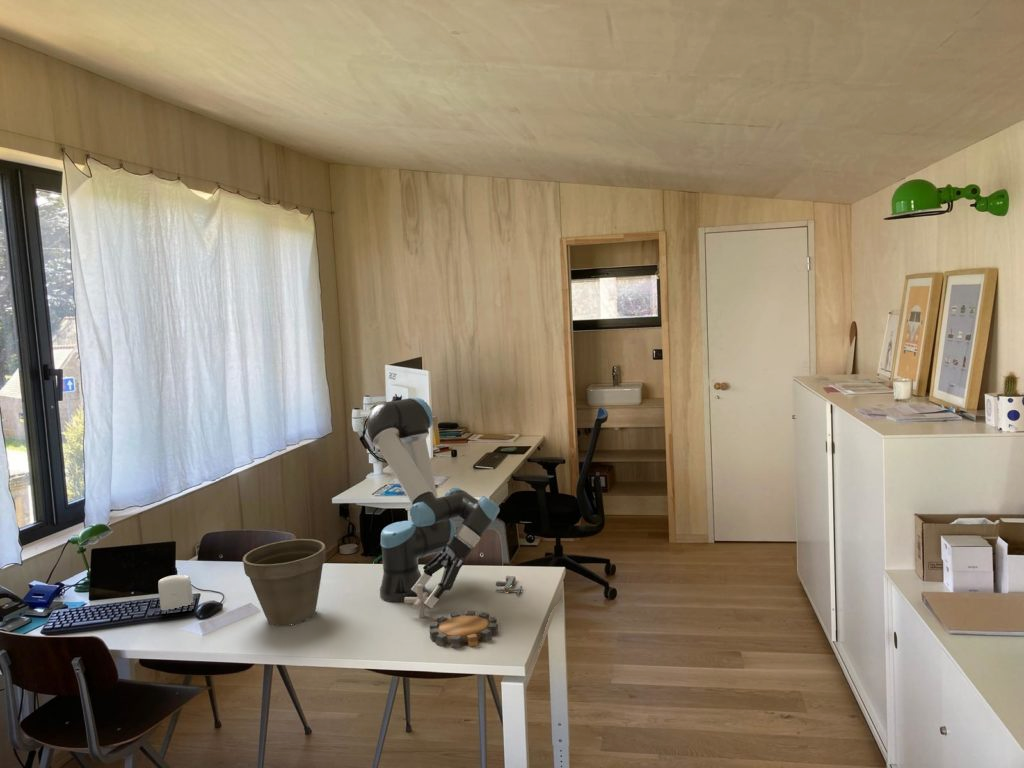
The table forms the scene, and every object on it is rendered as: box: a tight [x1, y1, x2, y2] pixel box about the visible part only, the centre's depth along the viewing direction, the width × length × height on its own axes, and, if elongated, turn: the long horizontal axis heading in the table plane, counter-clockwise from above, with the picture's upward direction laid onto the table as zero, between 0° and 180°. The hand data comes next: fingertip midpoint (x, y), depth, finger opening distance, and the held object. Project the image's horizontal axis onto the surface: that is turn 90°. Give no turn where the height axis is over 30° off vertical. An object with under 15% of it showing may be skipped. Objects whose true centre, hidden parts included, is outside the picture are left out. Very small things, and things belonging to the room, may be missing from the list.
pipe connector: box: [403, 584, 438, 618], centre depth 236 cm, size 10×10×10 cm
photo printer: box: [157, 574, 194, 611], centre depth 253 cm, size 10×4×12 cm, turn 100°
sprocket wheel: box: [429, 610, 499, 649], centre depth 222 cm, size 20×20×2 cm
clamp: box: [495, 575, 524, 597], centre depth 256 cm, size 15×2×10 cm
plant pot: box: [242, 538, 327, 627], centre depth 242 cm, size 25×25×22 cm
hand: (421, 598), depth 235 cm, fingers open, 13 cm apart
